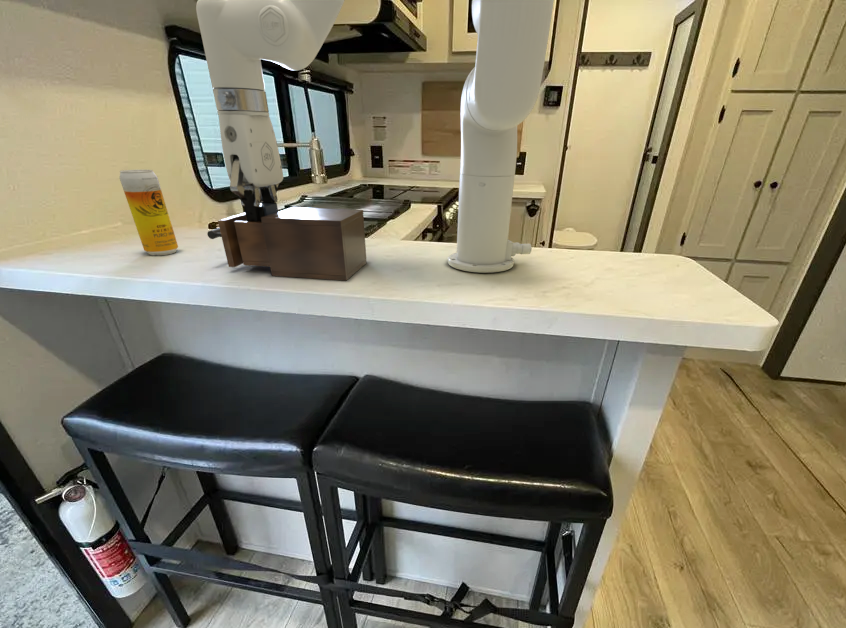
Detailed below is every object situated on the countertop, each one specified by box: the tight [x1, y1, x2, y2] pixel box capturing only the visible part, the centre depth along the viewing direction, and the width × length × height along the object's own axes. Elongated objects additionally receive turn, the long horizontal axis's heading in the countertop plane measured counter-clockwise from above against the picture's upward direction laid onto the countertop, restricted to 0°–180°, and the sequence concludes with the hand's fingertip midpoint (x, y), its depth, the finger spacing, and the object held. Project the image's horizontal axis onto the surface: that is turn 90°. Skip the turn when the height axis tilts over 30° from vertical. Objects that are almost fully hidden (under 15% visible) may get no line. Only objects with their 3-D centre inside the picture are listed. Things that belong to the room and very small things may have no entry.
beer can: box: [119, 169, 179, 256], centre depth 81 cm, size 6×6×15 cm
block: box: [260, 203, 279, 216], centre depth 73 cm, size 4×4×4 cm
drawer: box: [206, 212, 270, 268], centre depth 75 cm, size 17×10×8 cm, turn 80°
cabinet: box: [261, 206, 368, 282], centre depth 73 cm, size 14×12×10 cm
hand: (265, 227), depth 74 cm, fingers closed on block, 4 cm apart
